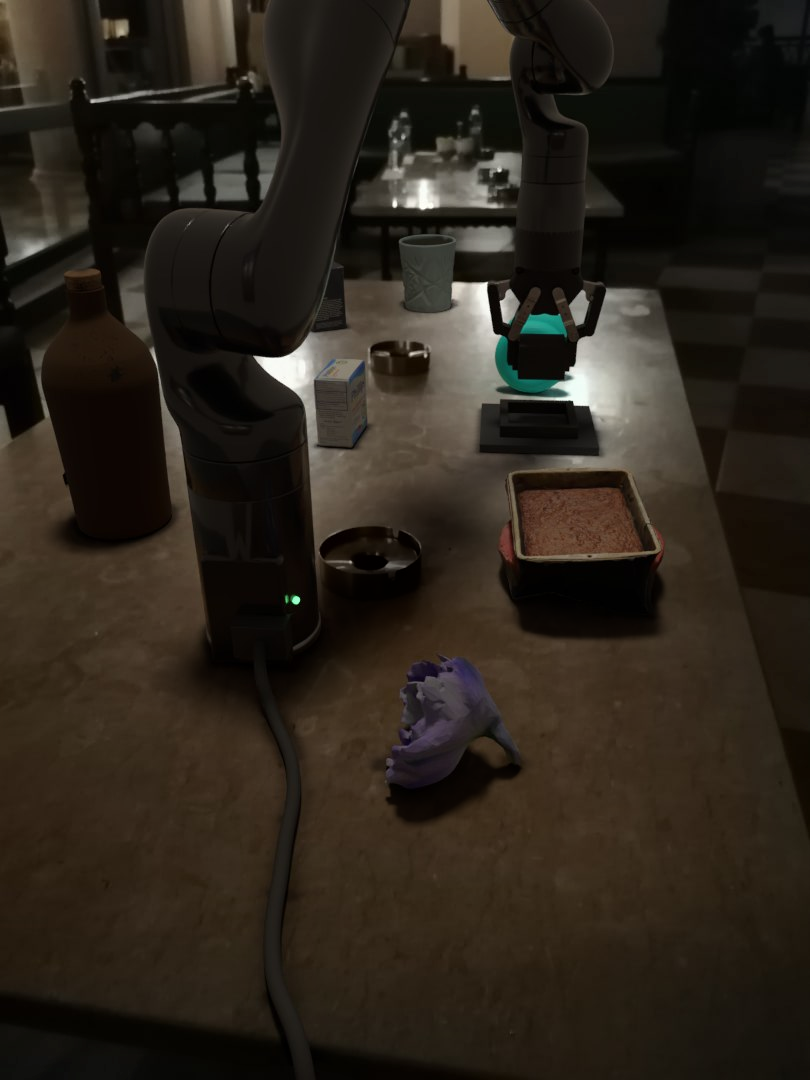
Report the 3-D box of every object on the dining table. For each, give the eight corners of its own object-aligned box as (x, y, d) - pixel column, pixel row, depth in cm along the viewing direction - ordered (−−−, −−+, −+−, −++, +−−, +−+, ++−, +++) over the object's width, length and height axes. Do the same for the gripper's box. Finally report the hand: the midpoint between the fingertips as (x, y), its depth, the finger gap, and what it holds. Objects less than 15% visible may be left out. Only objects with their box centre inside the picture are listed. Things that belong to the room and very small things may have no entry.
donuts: (492, 393, 126) (494, 321, 121) (502, 370, 134) (505, 303, 129) (564, 398, 124) (570, 325, 119) (570, 375, 132) (576, 306, 127)
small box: (292, 317, 161) (287, 257, 156) (326, 313, 164) (323, 253, 159) (312, 332, 153) (308, 269, 148) (348, 328, 155) (345, 265, 150)
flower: (545, 646, 62) (417, 612, 58) (562, 766, 56) (424, 737, 53) (473, 703, 68) (353, 676, 64) (483, 815, 63) (353, 793, 59)
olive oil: (199, 507, 96) (166, 264, 84) (133, 552, 87) (87, 290, 75) (119, 489, 99) (77, 256, 87) (48, 531, 91) (-8, 279, 79)
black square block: (564, 380, 107) (567, 347, 105) (517, 379, 107) (519, 346, 106) (561, 365, 112) (564, 334, 110) (516, 365, 112) (518, 333, 110)
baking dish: (488, 637, 78) (501, 546, 71) (498, 515, 92) (510, 430, 85) (658, 658, 77) (686, 568, 70) (642, 532, 91) (665, 447, 84)
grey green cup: (464, 304, 168) (465, 237, 163) (437, 316, 161) (437, 247, 155) (418, 297, 173) (417, 232, 167) (389, 309, 166) (388, 241, 160)
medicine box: (352, 449, 109) (349, 379, 105) (317, 446, 110) (312, 377, 106) (368, 425, 116) (365, 359, 112) (334, 422, 116) (331, 357, 112)
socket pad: (598, 455, 107) (600, 435, 105) (479, 452, 108) (480, 432, 107) (588, 412, 119) (590, 394, 118) (481, 410, 120) (482, 392, 119)
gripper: (485, 228, 99) (480, 378, 107) (619, 229, 97) (603, 380, 106) (486, 217, 105) (481, 358, 113) (611, 217, 104) (597, 360, 112)
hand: (540, 368), depth 109 cm, fingers closed on black square block, 5 cm apart
